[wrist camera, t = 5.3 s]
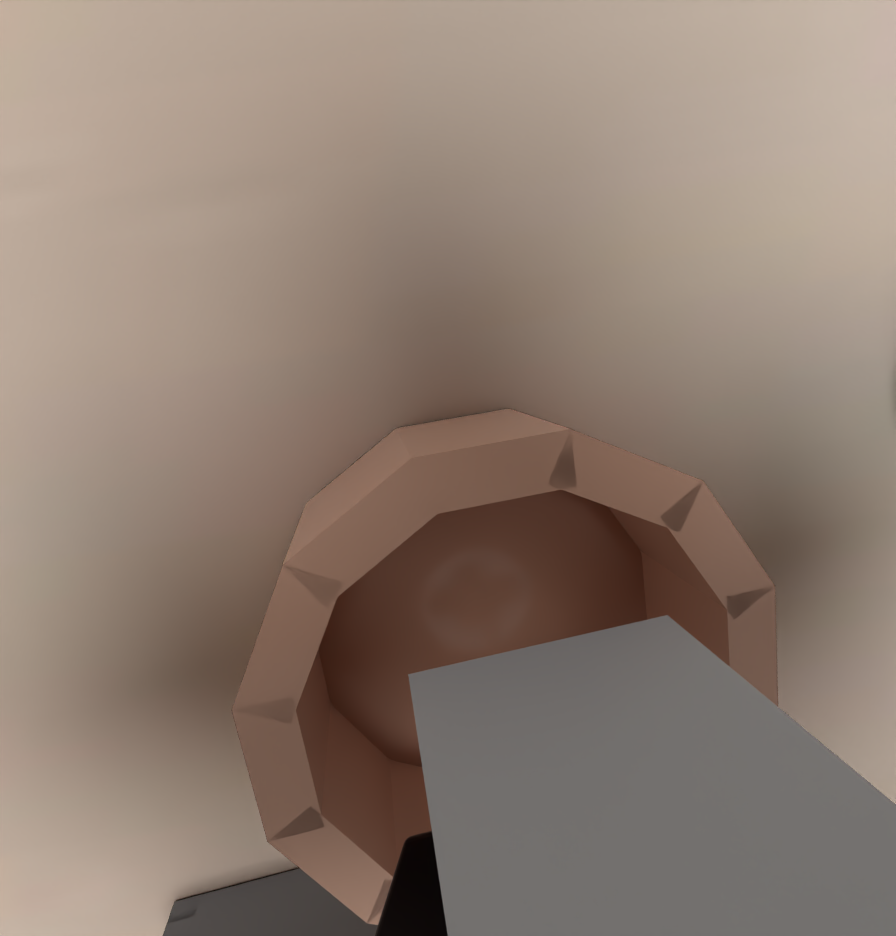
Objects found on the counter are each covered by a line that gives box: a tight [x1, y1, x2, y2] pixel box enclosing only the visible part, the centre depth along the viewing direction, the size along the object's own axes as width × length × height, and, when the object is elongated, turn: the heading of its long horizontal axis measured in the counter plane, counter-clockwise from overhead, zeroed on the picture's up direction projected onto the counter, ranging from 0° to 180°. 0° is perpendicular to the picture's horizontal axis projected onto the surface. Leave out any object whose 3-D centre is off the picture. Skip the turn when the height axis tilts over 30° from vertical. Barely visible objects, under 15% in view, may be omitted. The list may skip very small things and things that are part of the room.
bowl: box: [232, 409, 778, 925], centre depth 11 cm, size 9×9×4 cm
